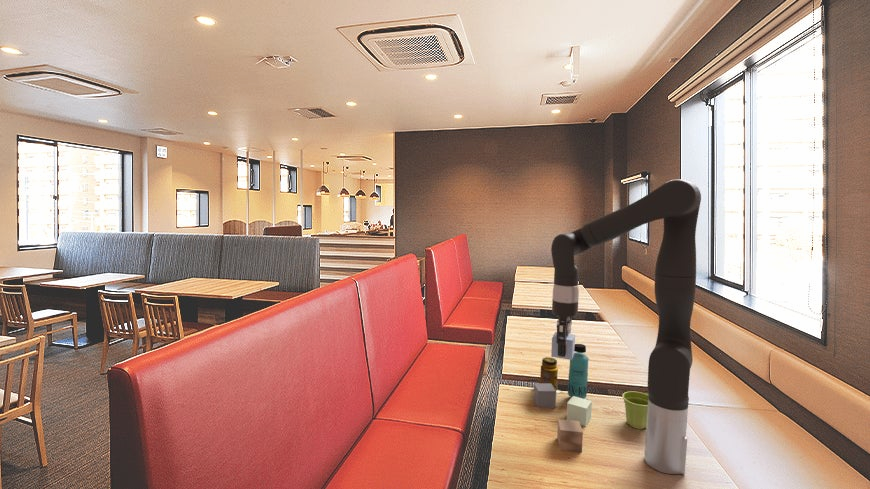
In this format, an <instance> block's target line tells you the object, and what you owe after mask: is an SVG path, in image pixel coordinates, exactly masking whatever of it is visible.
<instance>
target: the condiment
mask: <svg viewBox="0 0 870 489" xmlns="http://www.w3.org/2000/svg"><path fill="white" fill-rule="evenodd" d="M558 368H559V367H558V360H557V359H556V358H555V357H551V356H548V357H547V356H546V357H543V358H542V360H541V366H540V375H539V376H540V378H539V379H540V381H539V383H551V384H552V386H553V387H554V389H555V390H556V391H561V390H559V389H558V376H559V375H558V370H559V369H558ZM530 390H532V391H533V392H534V388H531V389H530ZM562 392H563V391H561V392H556V395H558V394H560V393H562Z"/></svg>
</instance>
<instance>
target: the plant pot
mask: <svg viewBox="0 0 870 489" xmlns="http://www.w3.org/2000/svg"><path fill="white" fill-rule="evenodd" d="M621 397H622V399H623V402H624V408H625V418H626V423H627V424H628V425H630V427H632V428H634V429H638V430H642V429H646V425H647V409H648V394H647V393H645V392H640V391H632V390H631V391H625V392H624V393H622V395H621Z"/></svg>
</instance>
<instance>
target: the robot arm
mask: <svg viewBox="0 0 870 489" xmlns="http://www.w3.org/2000/svg"><path fill="white" fill-rule="evenodd" d="M701 202H702V194H701V190H700V189H699V187H698V186H697V185H696V184H695V183H693V182H692V181H689V180H685V179H680V178H679V179H671V180H668V181H666V182H664V183H663V184H661V185H660V186H658V187H657V188H655V189H654V190H652V191H651V192H650V193H648V194H646V195H644V196H643V197H641V198H640V199H638V200H635V201H634V202H632V203H630V204H628V205H625V206H624V207H622V208H619V209H617V210H614V211H612V212H610V213H608V214H605V215H603V216H600V217H599V218H596V219H594V220H591V221H589V222H587V223H585V224H583V226H582V227H580V228H578V229H576V230H573V231H571V232H567V233H566V232H565V233H561V234H557V235H556V236H555V237H554V238H553V239H552V243H551V249H550V250H551V259H552V264H553V268H554V269H553V270H554V271H553V272H554V274H553V275H554V276H553V286H552V287H553V288H552V300H551V313H552V314H553V315H555V316H558V317H559V318H558V319H557V321H556V332H557V340H556V342H557V344H558V356H562V357H565V355H566V344H567V337H569V334H571V333H572V323H573V321H572V320H573V319H572V318H574V317H577V315H578V314H579V297H580V296H579V293H580V292H579V276H580V275H579V273H580V272H579V268H578V267H577V266H576V265H575V256H577V255H579V254H582V253H583V252H586V251H588V250H589V249H592V248H594V247H598V246H600V245H603V244H604V243H607V242H611V241H613V240H615V239H617V238H619V237H622V236H623V235H625V234H627V233H629V232H631V231H632V230H634V229H637V228H638V227H641V226H643V225H646V224H648V223H651V222H654V221H659V220H662V219H663V235H662V241H661V243H660V247H659V251H658V253H657V254H658V255H657V257H656V258H657V259H656V262H655V269H654V270H655V271H654V297H655V298H654V299H655V304H656V310H657V314H658V315H657V316H658V328H657V337H656V342H655V346H654V348H653V350H652V351H651V352H650V354H649V358H648V367H647V368H648V369H647V370H648V371H647V392H648V394H647V395H648V409H647V425H646V428H645V441H644V442H645V443H644V456H643V458H644V462H645V463H646V464H647V465H648V466H649V467H651V468H652V469H654V470H656V471H658V472H660V473H665V474H667V475H668V474H669V475H677V474H678V475H679V474H680V475H685V473H686V462H687V461H686V460H687V451H688V450H687V448H688V437H687V428H688V415H689V401H690V397H689V386H690V375H691V368H692V365H693V351H692V349H693V348H692V340H691V339H692V338H691V337H692V336H691V321H692V316H693V311H694V305H695V296H696V288H697V286H696V284H697V248H696V247H697V245H696V234H697V233H696V232H697V225H698V219H699V211H700V208H701ZM560 337H563V338H564V340H560Z"/></svg>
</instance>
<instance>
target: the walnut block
mask: <svg viewBox="0 0 870 489" xmlns="http://www.w3.org/2000/svg"><path fill="white" fill-rule="evenodd" d="M556 435H557V436H556V439H557V443H558V449H559V451H565V452H566V451H567V452H573V453H574V452H575V453H583V437H584V436H583V435H584V432H583V429H582V425H580V422H579V421H573V420H567V419H562V418H558V419H557V434H556Z"/></svg>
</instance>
